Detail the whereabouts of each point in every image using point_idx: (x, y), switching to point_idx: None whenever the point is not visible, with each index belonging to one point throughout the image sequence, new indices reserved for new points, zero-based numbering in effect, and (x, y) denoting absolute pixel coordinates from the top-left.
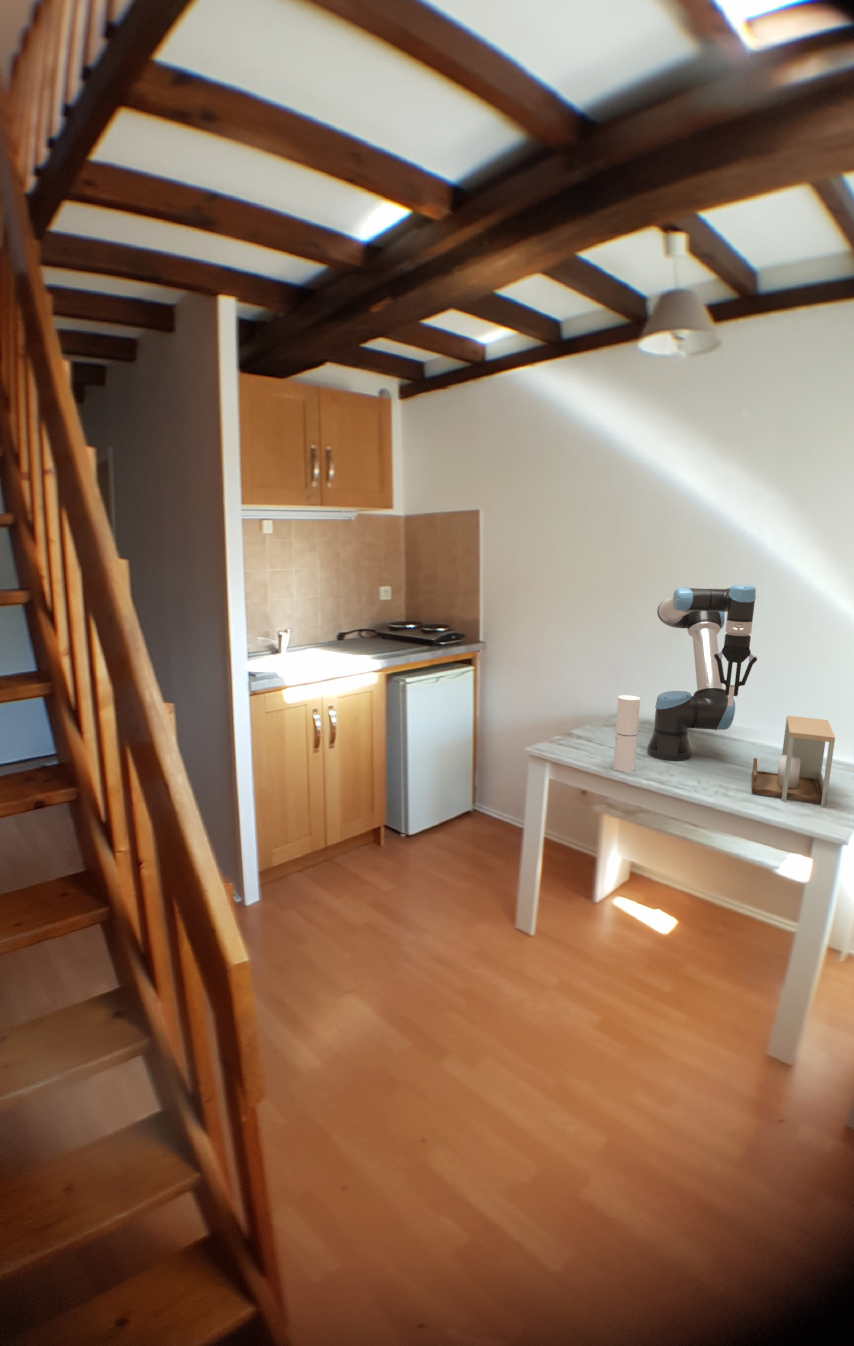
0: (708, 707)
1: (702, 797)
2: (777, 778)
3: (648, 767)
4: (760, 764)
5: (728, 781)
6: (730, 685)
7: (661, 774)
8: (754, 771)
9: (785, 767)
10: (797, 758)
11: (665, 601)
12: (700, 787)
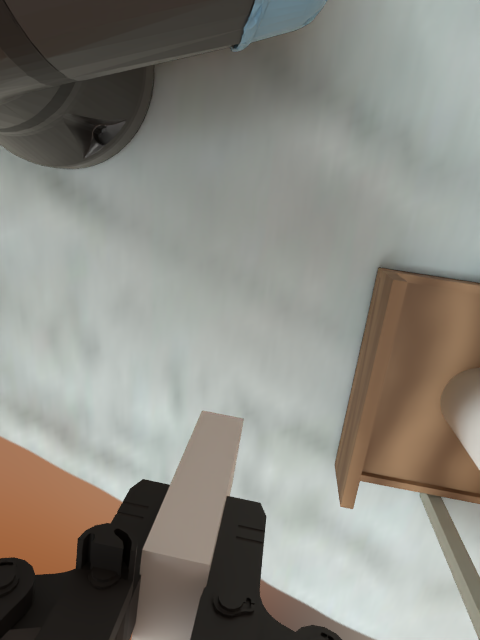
0: (107, 8)
1: None
2: (447, 409)
3: (9, 287)
4: (460, 64)
5: (277, 356)
6: (146, 585)
7: (58, 351)
8: (351, 471)
9: (459, 577)
10: None
11: None
12: (180, 442)
